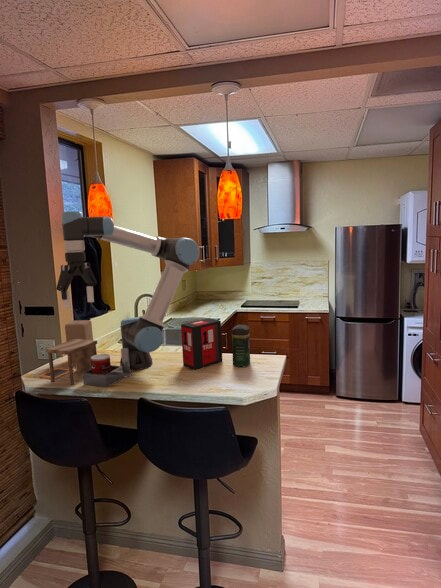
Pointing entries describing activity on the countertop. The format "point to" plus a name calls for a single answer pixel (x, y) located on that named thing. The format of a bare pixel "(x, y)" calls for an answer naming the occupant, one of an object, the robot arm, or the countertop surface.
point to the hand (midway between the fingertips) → (79, 304)
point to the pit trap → (56, 373)
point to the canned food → (101, 364)
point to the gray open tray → (110, 377)
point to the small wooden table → (82, 355)
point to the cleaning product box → (201, 343)
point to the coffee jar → (241, 346)
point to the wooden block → (78, 332)
